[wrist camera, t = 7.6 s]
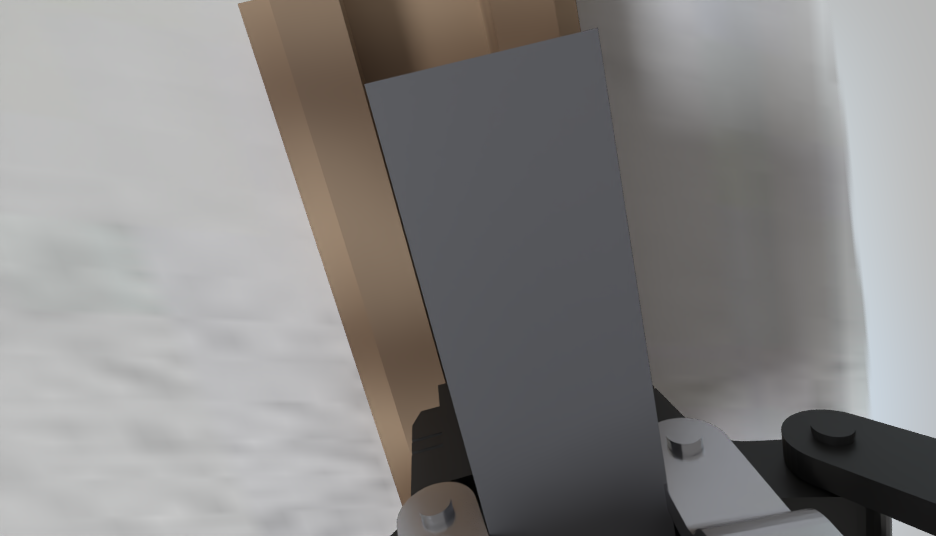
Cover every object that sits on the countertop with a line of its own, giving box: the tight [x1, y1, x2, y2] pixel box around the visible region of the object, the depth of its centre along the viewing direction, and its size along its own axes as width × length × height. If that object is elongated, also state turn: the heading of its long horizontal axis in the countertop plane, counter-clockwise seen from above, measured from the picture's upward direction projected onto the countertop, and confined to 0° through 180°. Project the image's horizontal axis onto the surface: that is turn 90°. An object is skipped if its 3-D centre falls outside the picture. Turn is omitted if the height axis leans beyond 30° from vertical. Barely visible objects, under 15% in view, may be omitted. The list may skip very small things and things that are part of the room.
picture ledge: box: [238, 0, 581, 506], centre depth 16 cm, size 22×9×4 cm, turn 14°
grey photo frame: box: [364, 28, 675, 536], centre depth 11 cm, size 14×2×8 cm, turn 14°
